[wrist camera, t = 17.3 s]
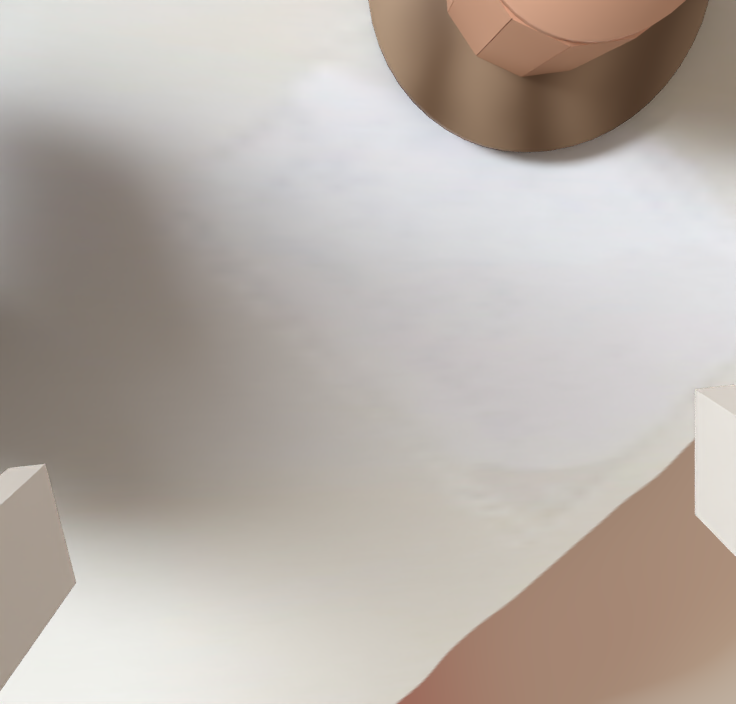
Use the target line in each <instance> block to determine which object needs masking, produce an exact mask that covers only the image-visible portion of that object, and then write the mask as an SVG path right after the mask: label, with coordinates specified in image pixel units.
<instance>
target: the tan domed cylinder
mask: <svg viewBox="0 0 736 704" xmlns="http://www.w3.org/2000/svg"><path fill="white" fill-rule="evenodd" d="M685 1H686V0H447V11H448V14H449V15H450V17H451V19H452V20H453V22H454V23H455V25H456V26H457V28H458V29H459V31H460V32H461V34H462V35H463V37H464V38H465V40H466V41H467V43H468V44H469V46H470V47H471V49H472V50H473V52H474V53H475V55H477V57H479V58H481V59H484V60H486V61H488V62H490V63H492V64H494V65H497V66H499V67H501V68H503V69H505V70H507V71H509V72H512V73H514V74H516V75H518V76H520V77H524V76H532V75H540V74H548V73H555V72H563V71H570V70H572V69H574V68H576V67H578V66H580V65H583V64H585V63H587V62H589V61H591V60H593V59H595V58H597V57H599V56H601V55H603V54H605V53H607V52H609V51H611V50H613V49H615V48H617V47H619V46H621V45H623V44H625V43H627V42H629V41H631V40H633V39H635V38H636V37H638V36H639V35H640V34H642V33H643V32H644V31H646V30H647V29H648V28H650V27H651V26H652V25H654V24H655V23H657V22H658V21H660V20H661V19H663V18H664V17H666V16H667V15H669V14H670V13H672V12H673V11H674V10H675V9H676V8H678V7H679V6H680V5H681V4H682V3H683V2H685Z"/></svg>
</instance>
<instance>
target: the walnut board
mask: <svg viewBox="0 0 736 704" xmlns="http://www.w3.org/2000/svg"><path fill="white" fill-rule="evenodd" d="M368 1H369V6H370V12H371V18H372V24H373V27H374V30H375V34H376V37H377V40H378V44H379V46H380V49H381V51H382V53H383V56H384V58H385V60H386V62H387V65H388V67H389V68H390V70H391V72H392V73H393V75H394V77H395V78H396V80H397V82H398V83H399V85H400V86H401V88H402V89H403V90H404V91H405V93H406V94H407V95H408V96H409V98H410V99H411V100H412V101H413V103H414V104H416V105H417V106H418V107H419V108H420V109H421V110H422V111H423V112H424V113H425V114H426V115H427V116H428V117H429V118H431V119H432V120H433V121H435V122H436V123H437V124H439V125H440V126H442V127H443V128H444V129H446V130H448V131H449V132H451V133H453V134H455V135H457V136H459V137H461V138H462V139H464V140H467V141H470V142H473V143H475V144H478V145H481V146H484V147H488V148H493V149H497V150H502V151H512V152H540V151H550V150H556V149H561V148H566V147H571V146H574V145H577V144H580V143H583V142H586V141H589V140H592V139H594V138H596V137H598V136H601V135H603V134H605V133H607V132H609V131H611V130H613V129H614V128H616V127H617V126H619V125H621V124H622V123H624V122H625V121H627V120H628V119H630V118H631V117H633V116H634V115H635V114H636V113H637V112H639V111H640V110H641V109H642V108H643V107H645V106H646V105H647V104H648V103H649V102H650V101H651V100H652V99H653V98H654V97H655V96H656V95H657V94H658V93H659V92H660V91H661V90H662V89H663V88H664V86H665V85H666V84H667V83H668V81H669V80H670V79H671V77H672V76H673V75H674V73H675V72H676V71H677V69H678V68H679V67H680V65H681V63H682V62H683V60H684V58H685V57H686V55H687V53H688V51H689V50H690V48H691V46H692V44H693V42H694V40H695V37H696V35H697V33H698V31H699V28H700V26H701V24H702V21H703V18H704V14H705V11H706V8H707V5H708V1H709V0H686V1H685V2H683V3H682V4H681V5H680V6H679V7H678V8H676V9H675V10H674V11H673V12H672V13H670V14H669V15H667V16H666V17H664V18H663V19H661V20H660V21H658V22H657V23H655V24H654V25H652V26H651V27H650V28H648V29H647V30H646V31H644V32H643V33H642V34H640V35H639V36H638V37H636V38H635V39H633V40H631V41H629V42H627V43H625V44H623V45H621V46H619V47H617V48H615V49H613V50H611V51H609V52H607V53H605V54H603V55H601V56H599V57H597V58H595V59H593V60H591V61H589V62H587V63H585V64H583V65H580V66H578V67H576V68H574V69H572V70H570V71H563V72H555V73H548V74H540V75H532V76H524V77H520V76H518V75H516V74H514V73H512V72H509V71H507V70H505V69H503V68H501V67H499V66H497V65H494V64H492V63H490V62H488V61H486V60H484V59H481V58H479V57H477V55H475V53H474V52H473V50H472V49H471V47H470V46H469V44H468V43H467V41H466V40H465V38H464V37H463V35H462V34H461V32H460V31H459V29H458V28H457V26H456V25H455V23H454V22H453V20H452V19H451V17H450V15H449V14H448V11H447V0H368Z"/></svg>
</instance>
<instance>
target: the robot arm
mask: <svg viewBox="0 0 736 704" xmlns="http://www.w3.org/2000/svg"><path fill="white" fill-rule="evenodd" d="M695 515H696V516H697V517H698V518H699V519H700V520H701V521H702V522H703V523H704V524H705V525H706V526H707V527H708V528H709V529H710V530H711V532H712V533H713V534H714V535H715V536H716V537H717V538H718V539H719V540H720V541H721V542H722V543H723V544H724V545H725V546H726V547H727V548H728V549H729V550H730V551H731V552H732V553H733V554H734V555H735V556H736V386H735V385H726V386H718V387H709V388H700V389H695ZM75 584H76V580H75V576H74V572H73V568H72V565H71V561H70V557H69V553H68V549H67V545H66V541H65V537H64V534H63V530H62V526H61V522H60V518H59V514H58V510H57V506H56V503H55V499H54V495H53V491H52V487H51V483H50V479H49V475H48V471H47V468H46V464H39V465H30V466H21V467H13V468H8V469H7V470H6V471H4V472H3V473H2V474H1V475H0V691H1V689H2V688H3V686H4V685H5V684H6V682H7V681H8V679H9V678H10V676H11V675H12V674H13V672H14V671H15V669H16V668H17V666H18V665H19V664H20V662H21V661H22V659H23V658H24V656H25V655H26V654H27V652H28V651H29V649H30V648H31V646H32V645H33V644H34V642H35V641H36V639H37V638H38V636H39V635H40V634H41V632H42V631H43V629H44V628H45V626H46V625H47V624H48V622H49V621H50V619H51V618H52V617H53V615H54V614H55V612H56V611H57V609H58V608H59V607H60V605H61V604H62V602H63V601H64V599H65V598H66V597H67V595H68V594H69V592H70V591H71V589H72V588H73V587H74V585H75Z"/></svg>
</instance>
